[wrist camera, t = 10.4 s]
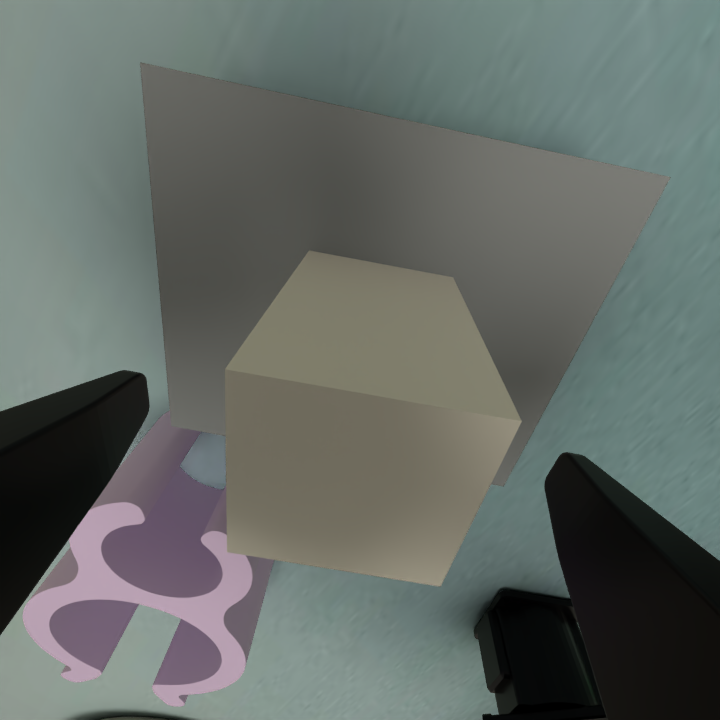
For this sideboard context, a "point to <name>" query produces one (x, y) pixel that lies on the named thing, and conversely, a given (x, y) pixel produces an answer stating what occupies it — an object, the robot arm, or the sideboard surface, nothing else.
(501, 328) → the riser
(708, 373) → the sideboard surface
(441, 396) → the block
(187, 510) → the clip
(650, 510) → the robot arm
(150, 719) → the bowl
